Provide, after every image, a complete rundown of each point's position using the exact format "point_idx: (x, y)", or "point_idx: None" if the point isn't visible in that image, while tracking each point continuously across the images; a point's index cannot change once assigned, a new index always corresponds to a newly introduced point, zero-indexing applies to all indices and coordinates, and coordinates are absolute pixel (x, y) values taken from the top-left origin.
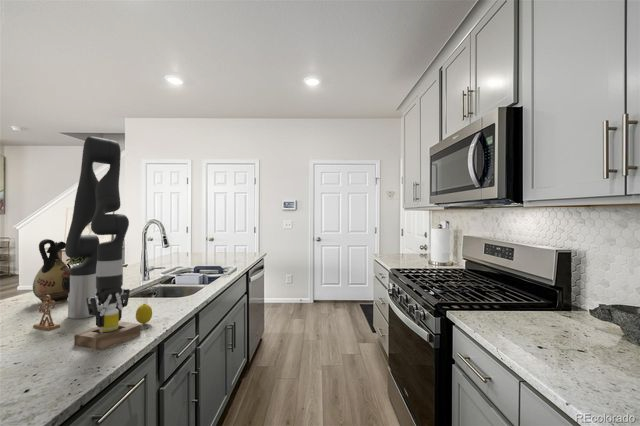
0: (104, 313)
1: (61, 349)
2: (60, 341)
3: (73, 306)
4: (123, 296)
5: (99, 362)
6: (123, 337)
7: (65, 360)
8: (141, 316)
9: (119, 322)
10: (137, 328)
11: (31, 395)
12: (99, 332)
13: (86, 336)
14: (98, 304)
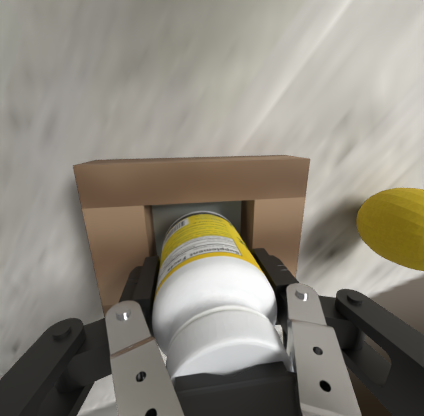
0: (160, 347)
1: (43, 152)
2: (88, 33)
3: None
4: (420, 406)
5: None
6: None
7: (6, 272)
8: (374, 245)
9: (290, 210)
10: None
11: None
12: (164, 238)
13: (91, 251)
14: (120, 396)
